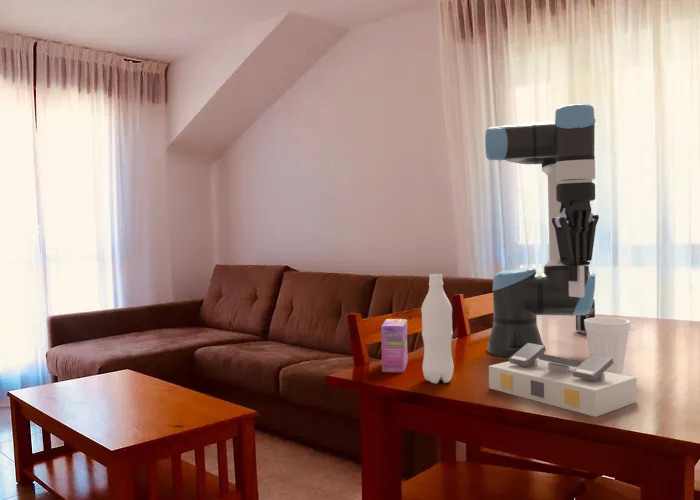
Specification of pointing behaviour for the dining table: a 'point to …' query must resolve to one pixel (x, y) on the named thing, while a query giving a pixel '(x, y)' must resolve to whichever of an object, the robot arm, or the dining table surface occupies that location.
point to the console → (564, 386)
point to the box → (394, 345)
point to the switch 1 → (527, 354)
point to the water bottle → (437, 332)
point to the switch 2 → (558, 360)
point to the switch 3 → (592, 367)
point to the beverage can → (580, 319)
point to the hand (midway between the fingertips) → (576, 296)
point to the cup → (608, 339)
